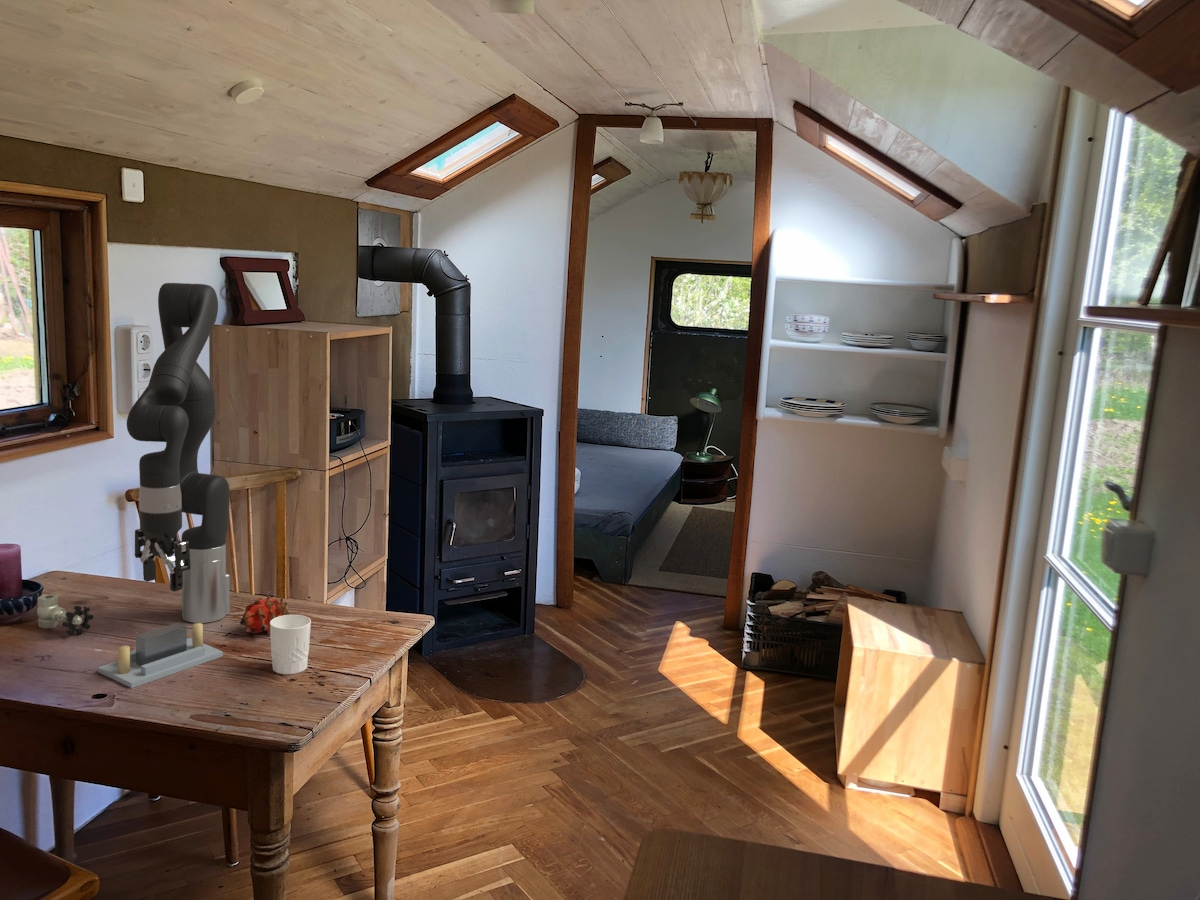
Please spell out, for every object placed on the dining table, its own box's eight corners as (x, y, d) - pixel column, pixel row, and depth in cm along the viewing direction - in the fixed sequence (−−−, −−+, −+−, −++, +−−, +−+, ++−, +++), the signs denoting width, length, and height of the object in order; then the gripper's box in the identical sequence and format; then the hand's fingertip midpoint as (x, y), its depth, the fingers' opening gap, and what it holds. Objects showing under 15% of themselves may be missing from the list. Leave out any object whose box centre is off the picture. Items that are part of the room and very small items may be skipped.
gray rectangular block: (177, 650, 193) (177, 622, 192) (186, 654, 191) (186, 626, 190) (136, 664, 185) (135, 635, 184) (145, 668, 184) (144, 639, 183)
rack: (189, 642, 200) (189, 615, 199) (223, 656, 194) (222, 628, 193) (98, 672, 183) (97, 643, 182) (131, 688, 177) (131, 658, 176)
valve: (27, 628, 201) (65, 640, 196) (26, 599, 200) (64, 610, 195) (56, 619, 207) (94, 630, 202) (55, 590, 206) (93, 601, 201)
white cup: (268, 662, 193) (268, 616, 191) (307, 658, 196) (308, 613, 194) (270, 677, 186) (271, 630, 184) (312, 673, 189) (313, 627, 187)
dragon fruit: (293, 631, 213) (245, 652, 205) (273, 603, 216) (225, 622, 207) (302, 610, 208) (253, 631, 199) (282, 581, 211) (233, 600, 202)
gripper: (200, 509, 182) (202, 588, 185) (155, 496, 189) (158, 572, 192) (165, 517, 176) (168, 599, 179) (120, 503, 183) (123, 581, 186)
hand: (162, 585), depth 186 cm, fingers open, 8 cm apart
